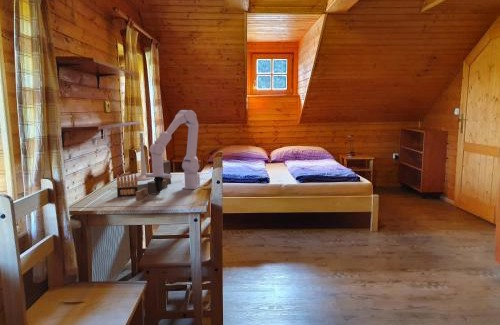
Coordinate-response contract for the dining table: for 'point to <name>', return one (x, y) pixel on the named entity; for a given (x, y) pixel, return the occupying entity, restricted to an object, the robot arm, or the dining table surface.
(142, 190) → the brown wooden bar
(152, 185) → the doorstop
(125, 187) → the ammunition clip
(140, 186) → the door
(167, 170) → the pillar candle
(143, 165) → the candlestick
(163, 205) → the dining table surface
